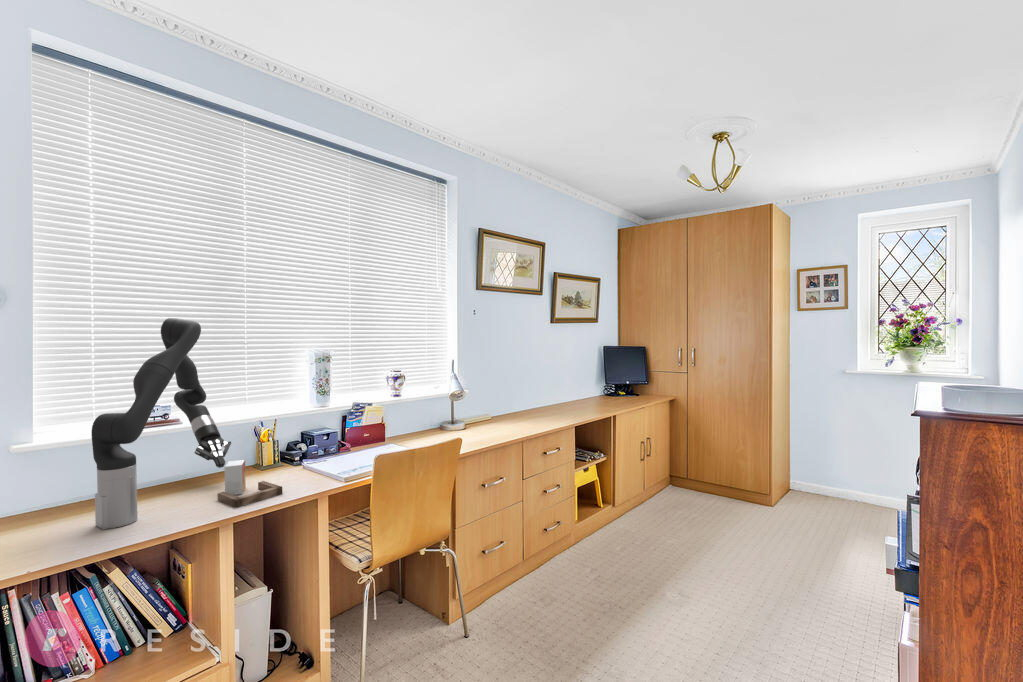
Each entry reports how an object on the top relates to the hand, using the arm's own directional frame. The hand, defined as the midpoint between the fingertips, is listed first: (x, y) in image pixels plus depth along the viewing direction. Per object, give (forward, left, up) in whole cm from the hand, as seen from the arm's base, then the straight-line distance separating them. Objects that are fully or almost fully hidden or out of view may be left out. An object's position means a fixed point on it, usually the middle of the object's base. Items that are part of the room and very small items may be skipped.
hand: (222, 466), depth 179 cm
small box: (0, -10, -8) cm, 13 cm away
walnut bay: (0, -19, -8) cm, 21 cm away
